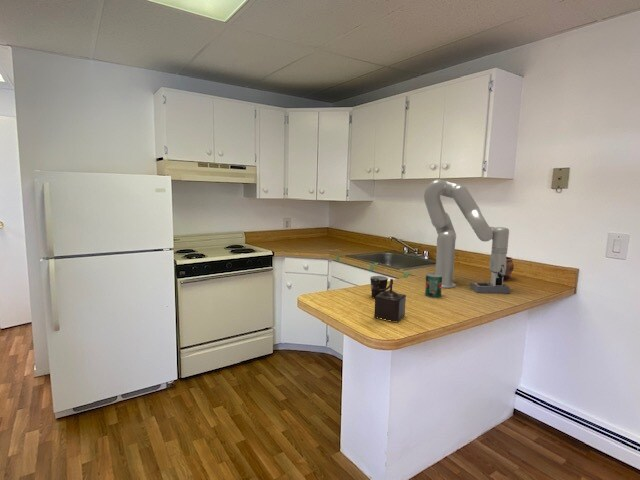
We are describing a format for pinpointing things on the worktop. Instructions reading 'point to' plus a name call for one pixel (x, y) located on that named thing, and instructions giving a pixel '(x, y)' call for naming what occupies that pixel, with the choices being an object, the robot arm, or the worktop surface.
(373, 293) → the coffee mug
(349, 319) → the worktop surface
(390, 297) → the manual coffee grinder
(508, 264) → the decorative planter
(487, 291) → the power strip
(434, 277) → the canned tomato
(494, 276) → the block
